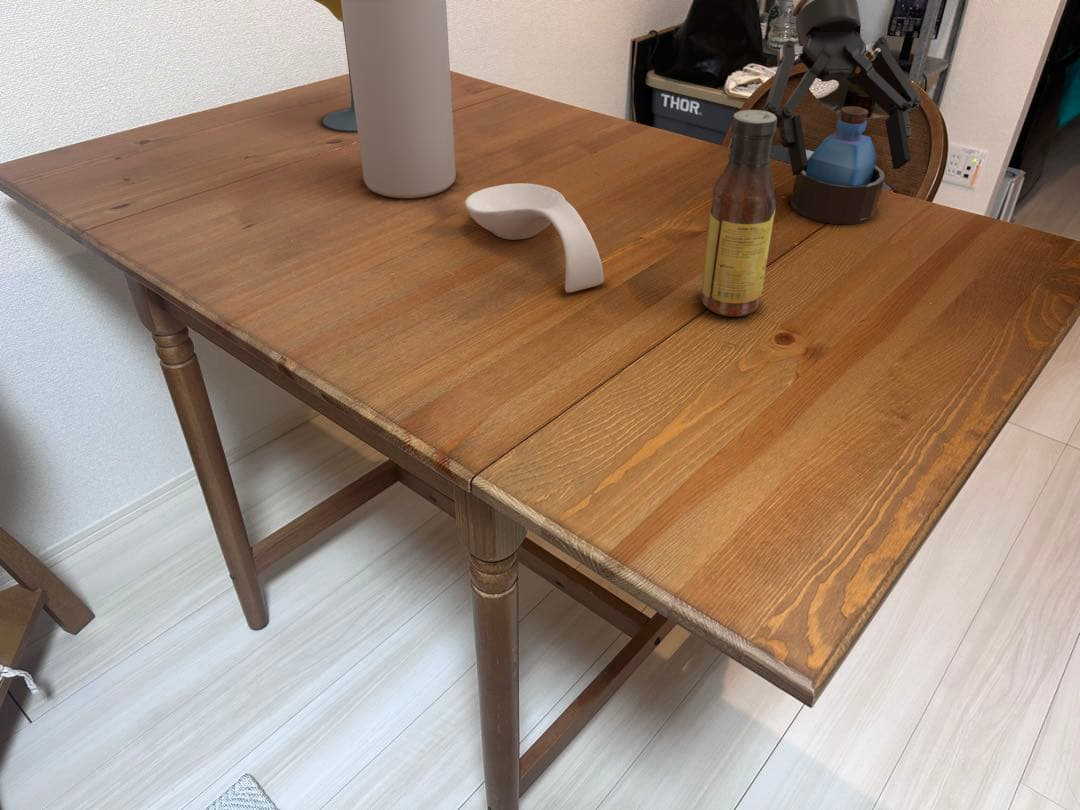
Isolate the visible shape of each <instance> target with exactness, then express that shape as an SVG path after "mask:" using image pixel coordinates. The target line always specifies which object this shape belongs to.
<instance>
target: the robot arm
mask: <svg viewBox="0 0 1080 810" xmlns="http://www.w3.org/2000/svg"><path fill="white" fill-rule="evenodd" d="M791 1H792V7H793V13H794V17H795V27H796V28H795V29H796V35H797V40H798V45H797V44H796V45H795V42H794V41H793V40H790V39H788V40H786V41H785V42H784V43H783V45H782V46H781V47H780V49H779V50H778V52H777V53H776V58H777V59H776V60H777V62H776V63H777V68H776V71H775V74H774V77H773V80H772V83H771V85H770V89H769V92H768V95H767V97H766V100H765V104H764V107H763V110H762V111H767V112H771V113H772V114H774V115H775V116H776V117H777V128H776V129H778V131H779V136H780V143H781V146H782V147H783V148H785V149H786V148H788V154H789V161H790V167H791V174H792V176H795V175H799V174H800V173H801V172H802V171H803V170H804V169H805V168H806V167H807V166H808V162H807V158H808V157H807V150H806V145H805V138H804V132H803V125H802V120H801V114H797V115H793V114H794V113H795V111H796V109H797V108H798V107H799V105H800V104H801V102H802V100H803V99H804V97H805V96H806V94H807V93H808V92H809V90H810V89H811V87H812V85H814V82H815V81H816V79H818V80H821V83H825V82H826V83H827V82H830V81H837V82H845V81H846V80H847V81H848V82H849V83H850V84H852V85H854V86H858V88H860V90H861V91H863V92H864V93H865V94H866V95H867V96H868V97H869V98H870V99H871V100H872V101H873V102H875V104H876V105H878V106H879V108H881V109H882V110H883V111H884V112H885V113H886V114H887V115H888V117H887V118H886V119H885V120H884V122H885V128H886V134H887V139H888V146H889V151H890V159H891V163H892V169H893V170H899V169H900V168H902V167H903V166H905V165H906V164H907V163H909V162H910V161H911V160H912V157H911V152H910V145H909V140H908V139H909V138H910V137H911V135H912V127H911V122H910V117H909V114H910V113H911V112H913V111H914V110H915V109H916V108H917V107H918V106H919V105H920V104H921V103H922V98H921V96H920V95H919V93H918V91H917V90H916V89H915V87H914V86H913V84H912V83H911V81H910V80H909V78H908V77H907V75H906V74H905V72H904V71H903V70H902V68H901V66H900V65H899V63H898V62H897V60H896V59H895V58H894V56H893V55H892V53H891V51H890V47H889V43H888V40H887V39H886V37H884V36H880V37H878V39H877V40H876V41H873V42H865V41H864V40H863V38H862V36H861V31H862V30H861V29H862V24H861V23H862V22H861V21H862V20H861V16H860V11H859V5H858V1H857V0H791ZM798 59H799V60H800V61H801V62H802V63H803V65H804V66H805V67H806V68H807V70H806V72H805V73H804V75H803V77H802V78H801V79H800V81H799V82H798V84H797V86H796V87H795V89H794V90H793V92H792V94H790V97H789V98H788V100H787V101H786V102H785V104H784V105H783V106H780V105H781V103H782V101H783V96H784V93H785V91H786V87H787V84H788V82H789V79H790V75H791V73H792V69H793V66H794V64H795V63H796V61H797V60H798ZM857 68H859V69H860V70H859V72H856V71H857V70H858V69H857Z"/></svg>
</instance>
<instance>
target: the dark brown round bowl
mask: <svg viewBox="0 0 1080 810" xmlns="http://www.w3.org/2000/svg"><path fill="white" fill-rule="evenodd" d="M809 157H810V156H808V157H807V162H809ZM806 171H807V167H806V168H805V169H804V170H803V171H802V172H801V173H800V174H799V175H794V176H795V177H794V181H793V185H792V190H791V194H790V202H789V203H790V206H791V208H792V210H794V211H795V212H796V213H798V214H799V215H801V216H803V217H805V218H806V219H810V220H813V221H815V222H820V223H824V224H831V225H842V226H843V225H856V224H862V223H865V222H868V221H869V220H871V219H872V218H873V217H874V215H875V213H876V211H877V207H878V204H879V200H880V197H881V193H882V190H883V186H884V182H885V180H886V179H885V178H886V177H885V172H884V170H882V169H881V168H880V167H879V166H877V164H875V166H874V170H873V174H872V178H871V181H870V183H869V184H865V185H841V184H833V183H829V182H825V181H821V180H818V179H816V178H814V177H812V176H810V175H808V174H807V173H806Z"/></svg>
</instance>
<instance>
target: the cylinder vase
mask: <svg viewBox="0 0 1080 810" xmlns="http://www.w3.org/2000/svg"><path fill="white" fill-rule="evenodd" d="M341 6H342V14H343V21H344V29H345V37H346V44H345V46H346V45H347V52H346V54H347V53H348V60H349V68H350V76H351V84H352V91H353V99H354V107H355V115H356V123H357V130H358V132H357V137H358V146H359V153H360V160H361V168H362V176H363V177H362V178H363V181H364V184H365V185H366V187H367V188H368V189H369V190H370V191H372V192H374V193H376V194H378V195H381V196H384V197H388V198H394V199H418V198H419V199H420V198H426V197H430V196H433V195H437V194H439V193H442V192H444V191H446V190H448V189H449V188H450V187H451V186H452V185H453V184H454V182H455V181H456V176H457V173H456V155H455V136H454V118H453V101H452V99H453V97H452V82H451V65H450V64H451V63H450V49H449V47H450V46H449V30H448V27H449V26H448V11H447V0H341ZM344 29H343V30H344ZM345 37H344V38H345Z"/></svg>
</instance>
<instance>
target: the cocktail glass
mask: <svg viewBox="0 0 1080 810" xmlns="http://www.w3.org/2000/svg"><path fill="white" fill-rule="evenodd" d="M313 1H314V2H316V3H318V4H320V5H322V6H324V7H325V8H327V9H328V11H329V12H330V13H331V14H332V15H333V16H334V18H335V19H336V20H337V21H339V22H341V23H342V28H343V35H344V36H343V37H344V43H345V51H346V59H347V68H348V76H349V77H348V78H349V85H350V86H349V87H350V108H345V109H340V110H335V111H332V112H330V113H328V114H326V115H325V116H324V117H323V119H322V123H323V125H324V126H325V127H326V128H328V129H331V130H334V131H339V132H347V133H348V132H349V133H355V132H356V133H358V130H357V123H356V115H355V107H354V99H353V91H352V84H351V76H350V68H349V60H348V53H347V45H346V37H345V29H344V21H343V14H342V6H341V0H313Z"/></svg>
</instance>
